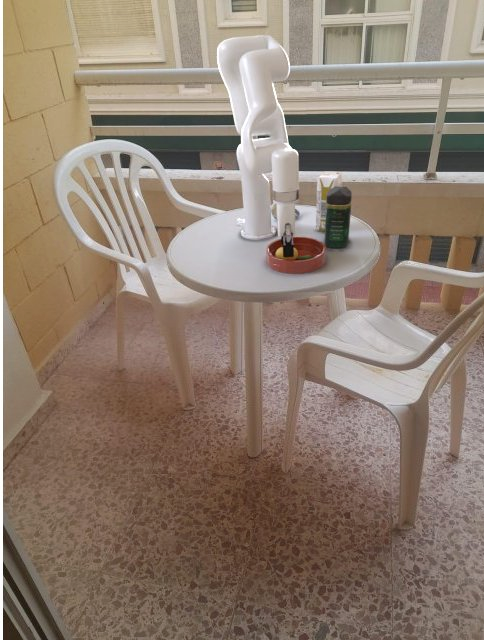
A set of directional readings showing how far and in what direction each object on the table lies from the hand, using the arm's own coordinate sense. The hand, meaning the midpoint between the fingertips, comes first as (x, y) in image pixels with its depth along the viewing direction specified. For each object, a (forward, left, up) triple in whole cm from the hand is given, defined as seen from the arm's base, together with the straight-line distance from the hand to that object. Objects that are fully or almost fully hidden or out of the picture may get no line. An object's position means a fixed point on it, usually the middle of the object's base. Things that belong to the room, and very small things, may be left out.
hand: (287, 250), depth 140 cm
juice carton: (+1, +31, -5) cm, 31 cm away
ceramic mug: (-18, +35, -5) cm, 39 cm away
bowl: (+2, +2, -4) cm, 5 cm away
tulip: (+2, +2, -4) cm, 5 cm away
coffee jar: (+9, +19, -5) cm, 21 cm away
